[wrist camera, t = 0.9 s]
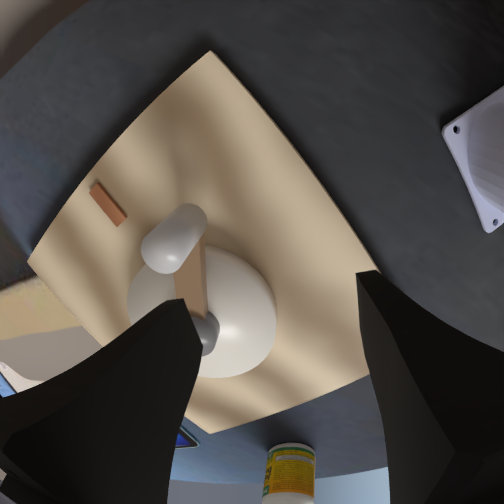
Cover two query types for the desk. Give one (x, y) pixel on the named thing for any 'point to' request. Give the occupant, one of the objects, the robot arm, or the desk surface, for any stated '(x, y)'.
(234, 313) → the dial
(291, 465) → the supplement bottle
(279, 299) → the base plate
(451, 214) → the desk surface
